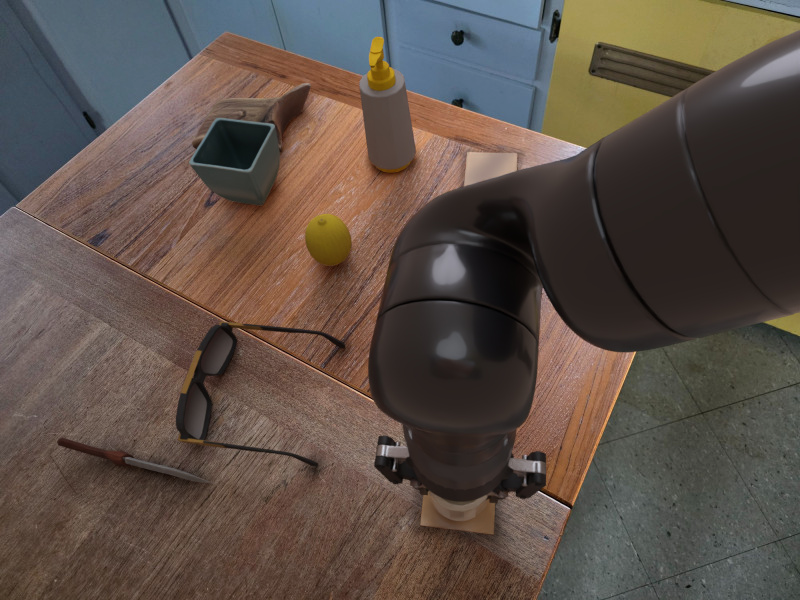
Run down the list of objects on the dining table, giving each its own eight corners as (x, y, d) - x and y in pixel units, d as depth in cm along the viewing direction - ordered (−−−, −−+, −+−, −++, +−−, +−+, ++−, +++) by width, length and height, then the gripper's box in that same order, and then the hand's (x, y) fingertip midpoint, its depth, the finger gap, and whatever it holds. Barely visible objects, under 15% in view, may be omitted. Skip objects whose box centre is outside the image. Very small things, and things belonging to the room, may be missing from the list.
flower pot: (293, 172, 80) (275, 123, 72) (271, 219, 75) (250, 172, 68) (238, 165, 81) (215, 116, 74) (213, 210, 77) (186, 163, 70)
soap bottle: (365, 176, 78) (342, 64, 63) (373, 141, 81) (352, 27, 66) (413, 177, 77) (402, 64, 62) (419, 142, 80) (409, 26, 65)
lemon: (305, 261, 71) (288, 221, 64) (336, 235, 73) (324, 194, 66) (333, 285, 69) (319, 246, 62) (365, 257, 70) (355, 217, 64)
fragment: (228, 104, 91) (216, 76, 87) (319, 104, 88) (311, 75, 84) (196, 157, 84) (182, 130, 80) (295, 159, 80) (284, 131, 76)
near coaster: (496, 460, 56) (497, 460, 55) (493, 534, 52) (493, 534, 52) (427, 453, 57) (427, 452, 57) (420, 525, 53) (420, 525, 53)
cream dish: (491, 462, 54) (493, 447, 50) (488, 525, 51) (490, 515, 47) (432, 456, 55) (429, 441, 51) (426, 517, 52) (423, 506, 48)
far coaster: (517, 154, 77) (517, 153, 77) (516, 192, 74) (516, 190, 74) (467, 153, 78) (467, 151, 78) (463, 190, 75) (463, 188, 75)
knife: (222, 478, 57) (211, 471, 55) (216, 493, 57) (204, 487, 54) (73, 440, 61) (56, 431, 59) (66, 453, 60) (48, 445, 58)
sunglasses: (318, 467, 57) (307, 454, 53) (183, 448, 59) (162, 434, 55) (346, 347, 64) (338, 326, 60) (224, 334, 66) (208, 314, 62)
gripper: (348, 476, 37) (379, 520, 52) (567, 501, 35) (536, 540, 50) (366, 374, 41) (390, 441, 56) (564, 391, 39) (536, 457, 53)
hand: (459, 488), depth 53 cm, fingers closed on cream dish, 6 cm apart
